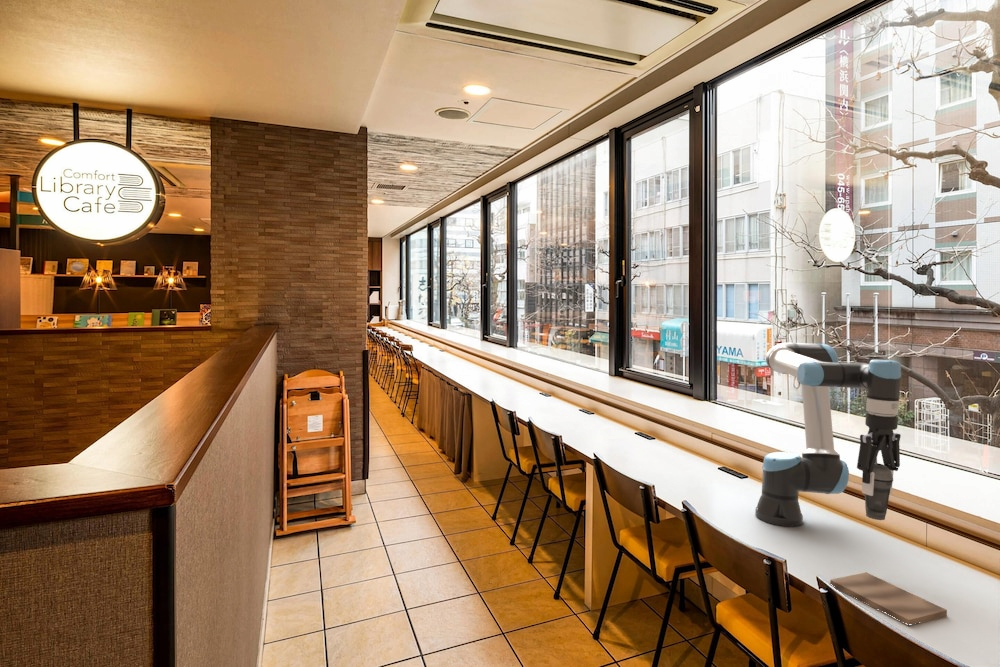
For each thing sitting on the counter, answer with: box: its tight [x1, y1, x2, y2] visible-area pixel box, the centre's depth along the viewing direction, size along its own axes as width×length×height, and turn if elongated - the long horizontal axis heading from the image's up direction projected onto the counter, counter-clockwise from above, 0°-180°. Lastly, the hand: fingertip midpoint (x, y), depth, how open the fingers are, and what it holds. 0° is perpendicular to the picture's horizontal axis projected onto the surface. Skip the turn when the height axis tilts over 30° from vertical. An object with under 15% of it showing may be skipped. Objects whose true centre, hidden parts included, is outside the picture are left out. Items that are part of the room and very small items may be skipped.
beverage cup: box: [864, 457, 894, 521], centre depth 156 cm, size 7×7×20 cm
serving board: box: [829, 572, 948, 625], centre depth 139 cm, size 20×14×2 cm
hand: (876, 492), depth 156 cm, fingers closed on beverage cup, 7 cm apart
